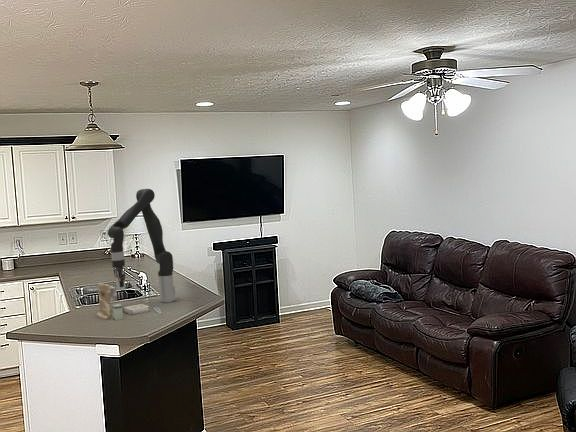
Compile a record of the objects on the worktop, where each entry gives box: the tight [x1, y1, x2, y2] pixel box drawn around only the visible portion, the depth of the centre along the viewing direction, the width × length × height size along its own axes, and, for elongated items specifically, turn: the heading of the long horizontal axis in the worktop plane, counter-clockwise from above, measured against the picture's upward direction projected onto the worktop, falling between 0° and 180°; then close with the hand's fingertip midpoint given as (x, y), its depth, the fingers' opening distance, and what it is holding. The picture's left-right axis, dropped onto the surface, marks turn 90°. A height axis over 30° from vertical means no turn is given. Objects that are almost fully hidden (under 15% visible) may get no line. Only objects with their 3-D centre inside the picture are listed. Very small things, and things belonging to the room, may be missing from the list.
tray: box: [123, 303, 151, 316], centre depth 371 cm, size 12×12×3 cm
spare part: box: [114, 276, 126, 291], centre depth 376 cm, size 4×4×8 cm
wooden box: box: [96, 282, 118, 320], centre depth 363 cm, size 9×16×20 cm, turn 36°
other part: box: [112, 303, 124, 321], centre depth 354 cm, size 4×4×8 cm
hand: (120, 286), depth 376 cm, fingers closed on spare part, 4 cm apart
